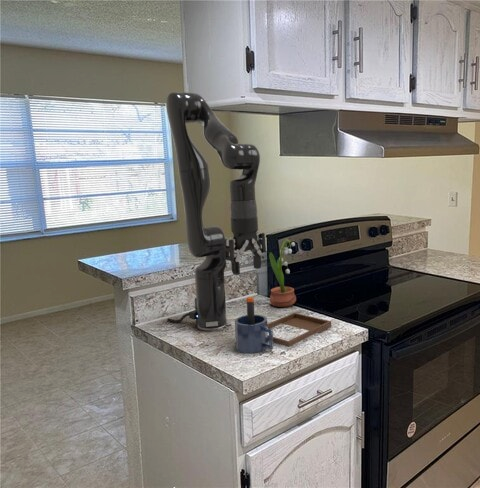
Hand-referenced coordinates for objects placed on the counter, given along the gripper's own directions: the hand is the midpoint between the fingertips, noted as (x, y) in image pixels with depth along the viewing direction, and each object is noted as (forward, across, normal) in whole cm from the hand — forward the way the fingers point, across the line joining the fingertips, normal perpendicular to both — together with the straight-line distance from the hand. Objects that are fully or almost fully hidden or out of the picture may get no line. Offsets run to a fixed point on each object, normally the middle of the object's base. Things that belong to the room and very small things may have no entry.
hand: (247, 271), depth 142 cm
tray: (+23, -16, +3) cm, 28 cm away
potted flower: (+23, -37, -18) cm, 47 cm away
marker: (+22, +2, +2) cm, 22 cm away
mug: (+23, +2, +4) cm, 23 cm away
